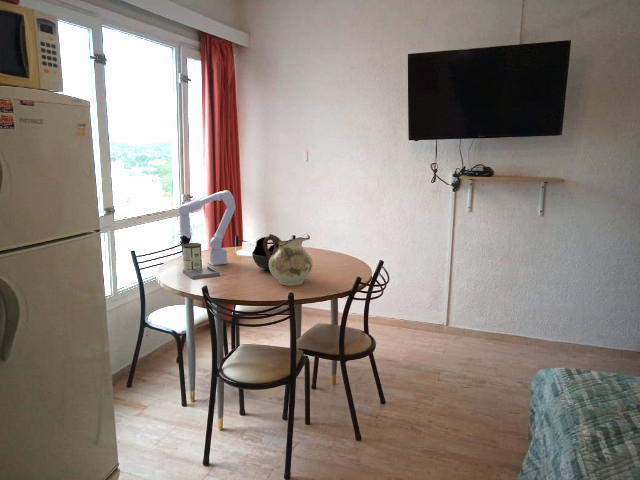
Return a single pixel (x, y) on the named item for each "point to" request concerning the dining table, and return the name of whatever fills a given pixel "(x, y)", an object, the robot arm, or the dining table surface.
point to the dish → (247, 249)
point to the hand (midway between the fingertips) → (186, 248)
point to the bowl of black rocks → (262, 254)
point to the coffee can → (192, 256)
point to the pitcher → (288, 260)
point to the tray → (202, 273)
